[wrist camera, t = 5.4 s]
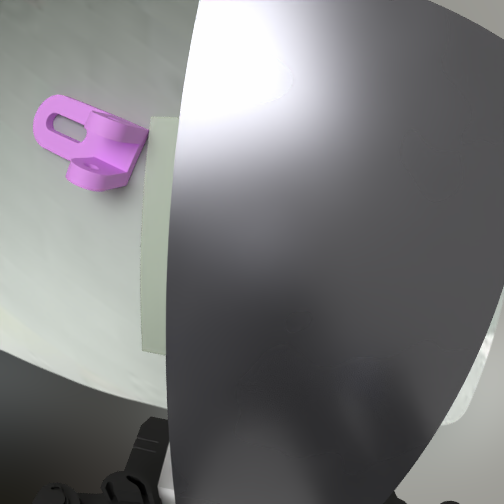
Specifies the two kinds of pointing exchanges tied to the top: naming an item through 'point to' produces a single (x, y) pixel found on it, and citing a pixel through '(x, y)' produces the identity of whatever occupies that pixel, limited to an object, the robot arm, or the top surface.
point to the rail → (328, 244)
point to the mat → (156, 231)
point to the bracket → (91, 143)
